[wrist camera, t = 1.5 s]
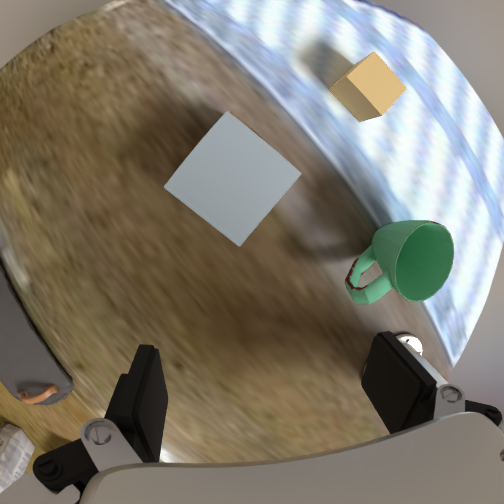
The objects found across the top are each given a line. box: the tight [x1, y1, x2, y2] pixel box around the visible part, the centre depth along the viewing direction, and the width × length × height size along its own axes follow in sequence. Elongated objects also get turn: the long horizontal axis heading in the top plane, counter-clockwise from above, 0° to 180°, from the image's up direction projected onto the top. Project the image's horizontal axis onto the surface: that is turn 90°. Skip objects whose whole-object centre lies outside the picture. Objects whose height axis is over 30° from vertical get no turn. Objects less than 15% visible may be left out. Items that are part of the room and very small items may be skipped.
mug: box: [345, 220, 454, 304], centre depth 33 cm, size 15×10×10 cm
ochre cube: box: [328, 52, 407, 122], centre depth 29 cm, size 6×6×6 cm
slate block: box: [164, 111, 302, 247], centre depth 27 cm, size 9×9×4 cm
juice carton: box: [0, 423, 35, 493], centre depth 31 cm, size 9×10×27 cm
